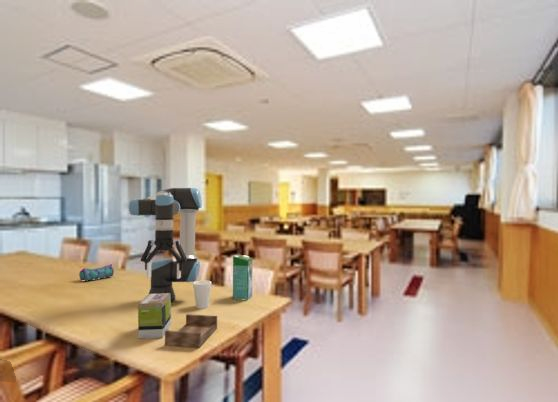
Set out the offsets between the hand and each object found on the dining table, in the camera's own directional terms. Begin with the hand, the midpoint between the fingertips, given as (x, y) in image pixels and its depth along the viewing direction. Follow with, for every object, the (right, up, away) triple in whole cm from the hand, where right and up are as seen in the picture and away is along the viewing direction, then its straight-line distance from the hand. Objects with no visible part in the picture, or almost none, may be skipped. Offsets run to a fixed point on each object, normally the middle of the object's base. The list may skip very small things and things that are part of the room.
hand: (163, 277), depth 146 cm
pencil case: (-81, -23, +94) cm, 127 cm away
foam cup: (+10, -23, +31) cm, 40 cm away
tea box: (-3, -23, -3) cm, 23 cm away
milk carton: (+29, -23, +49) cm, 61 cm away
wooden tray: (+15, -22, -8) cm, 28 cm away
